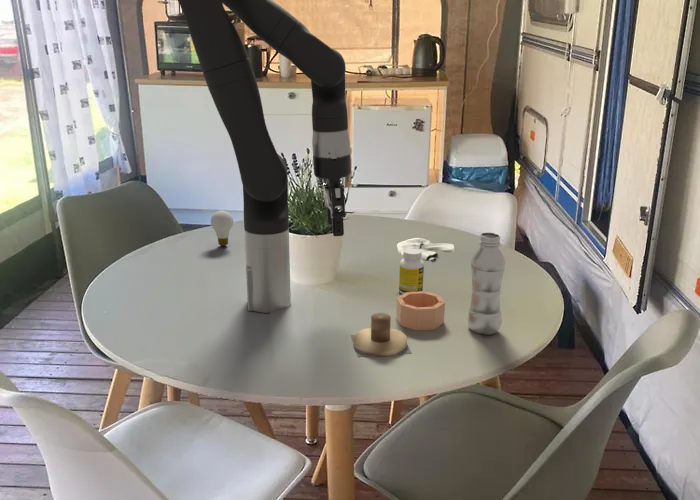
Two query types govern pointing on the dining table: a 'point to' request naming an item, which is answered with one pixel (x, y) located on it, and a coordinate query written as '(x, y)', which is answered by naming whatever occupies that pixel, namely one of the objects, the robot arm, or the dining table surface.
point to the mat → (360, 354)
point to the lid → (380, 338)
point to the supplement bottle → (411, 272)
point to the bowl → (420, 310)
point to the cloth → (424, 247)
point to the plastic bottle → (486, 285)
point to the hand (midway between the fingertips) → (335, 229)
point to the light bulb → (222, 226)
